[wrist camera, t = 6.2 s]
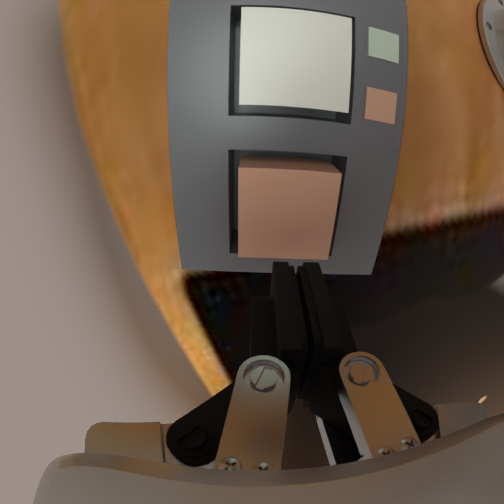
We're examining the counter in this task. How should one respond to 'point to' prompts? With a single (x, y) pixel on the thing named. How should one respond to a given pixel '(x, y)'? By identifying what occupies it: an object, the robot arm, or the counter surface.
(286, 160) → the terracotta key
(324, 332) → the robot arm
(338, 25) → the white key
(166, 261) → the counter surface
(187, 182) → the keyguard board
